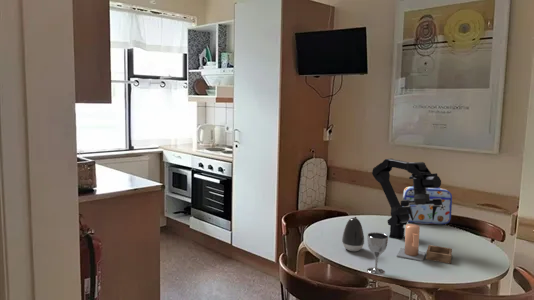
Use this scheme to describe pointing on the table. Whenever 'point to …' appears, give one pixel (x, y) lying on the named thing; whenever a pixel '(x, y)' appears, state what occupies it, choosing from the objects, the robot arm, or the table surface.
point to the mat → (418, 257)
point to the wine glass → (377, 249)
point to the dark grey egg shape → (353, 235)
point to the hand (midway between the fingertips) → (422, 220)
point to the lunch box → (430, 206)
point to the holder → (439, 254)
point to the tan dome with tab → (412, 239)
